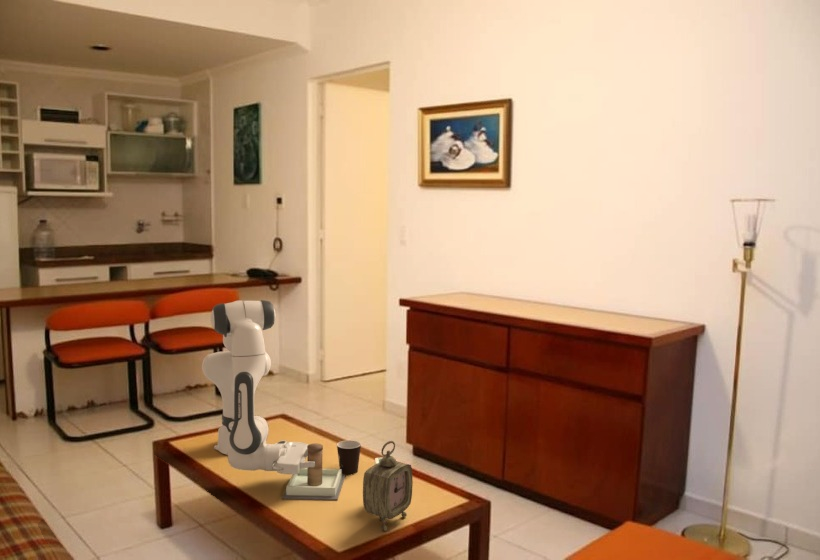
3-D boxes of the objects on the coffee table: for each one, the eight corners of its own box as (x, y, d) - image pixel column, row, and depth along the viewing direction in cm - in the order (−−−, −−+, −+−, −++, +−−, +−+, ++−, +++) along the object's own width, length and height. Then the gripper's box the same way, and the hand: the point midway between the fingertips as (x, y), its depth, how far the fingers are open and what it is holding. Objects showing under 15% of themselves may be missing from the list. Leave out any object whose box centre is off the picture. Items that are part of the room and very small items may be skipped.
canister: (308, 479, 231) (308, 443, 229) (323, 480, 230) (323, 443, 229) (305, 486, 225) (305, 448, 224) (321, 486, 225) (321, 449, 224)
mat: (294, 474, 238) (294, 473, 238) (345, 476, 238) (345, 474, 238) (281, 499, 218) (281, 497, 218) (337, 500, 218) (337, 498, 218)
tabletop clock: (385, 535, 195) (386, 451, 192) (360, 527, 200) (360, 445, 197) (412, 516, 207) (413, 437, 204) (387, 509, 212) (388, 432, 209)
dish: (296, 475, 236) (296, 468, 236) (341, 476, 236) (341, 469, 235) (286, 495, 220) (286, 486, 220) (335, 496, 220) (335, 487, 219)
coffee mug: (357, 476, 237) (357, 449, 236) (333, 474, 239) (333, 447, 238) (365, 464, 248) (365, 438, 247) (343, 462, 250) (343, 436, 249)
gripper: (269, 460, 217) (311, 461, 216) (283, 438, 237) (322, 439, 237) (269, 478, 217) (311, 480, 217) (283, 455, 238) (322, 456, 237)
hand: (317, 458), depth 227 cm, fingers open, 8 cm apart
